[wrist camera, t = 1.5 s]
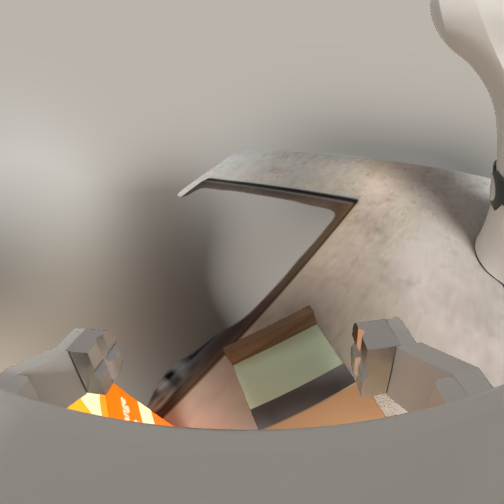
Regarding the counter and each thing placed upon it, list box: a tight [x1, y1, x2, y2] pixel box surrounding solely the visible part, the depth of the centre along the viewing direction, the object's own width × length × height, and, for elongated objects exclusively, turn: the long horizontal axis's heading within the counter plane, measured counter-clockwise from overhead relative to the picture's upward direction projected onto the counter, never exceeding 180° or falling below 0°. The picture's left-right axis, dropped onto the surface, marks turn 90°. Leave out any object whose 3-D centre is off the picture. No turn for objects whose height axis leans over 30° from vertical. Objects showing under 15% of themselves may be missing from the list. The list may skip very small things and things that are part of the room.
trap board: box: [223, 305, 356, 430], centre depth 30 cm, size 22×12×4 cm, turn 20°
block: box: [265, 383, 386, 430], centre depth 22 cm, size 6×9×10 cm, turn 110°
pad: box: [233, 324, 343, 410], centre depth 36 cm, size 7×12×1 cm, turn 110°
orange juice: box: [68, 383, 173, 426], centre depth 24 cm, size 8×9×20 cm
